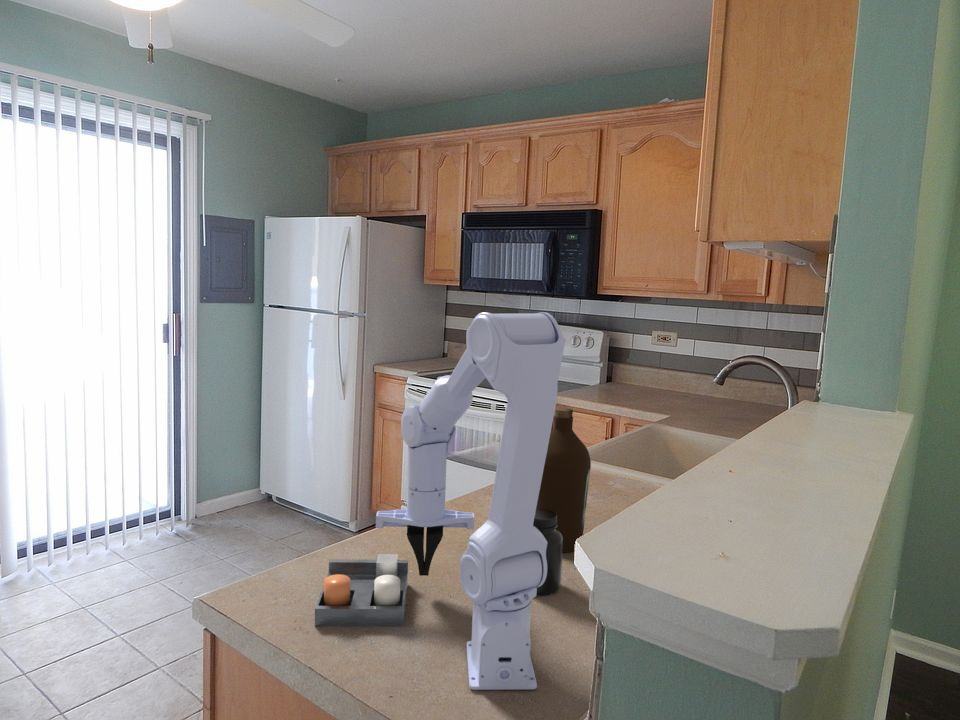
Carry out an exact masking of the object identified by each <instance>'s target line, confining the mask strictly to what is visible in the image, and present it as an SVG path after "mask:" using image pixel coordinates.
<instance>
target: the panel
mask: <svg viewBox="0 0 960 720" xmlns="http://www.w3.org/2000/svg"><path fill="white" fill-rule="evenodd" d="M376 562H377V559H353V558H352V559H351V558H350V559H349V558H348V559H342V558H341V559H338V558H337V559H335V558H332V559H329V560H328V572H327V575H326V577H325V578H327V577H328V576H331V575H337V574H341V575H346V576H348V577H349V578H350V601H349V603H348V604H346V605H344V606H327V605H325V604H324V584H323V586H322V589H321V591H320V594H319V596H318V599H317V601H316V605H315V608H314V627H404V625H405V624H404V623H405V614H406V613H405V612H406V604H407V594H408V593H407V592H408V586H407V585H409V583H408V582H409V560H408V559H398V574H397V577H399V578H400V602H399V603H398V604H397V605H395V606H377V605H376V604H375V603H374V581H375V579H376Z"/></svg>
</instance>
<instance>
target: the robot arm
mask: <svg viewBox="0 0 960 720" xmlns="http://www.w3.org/2000/svg"><path fill="white" fill-rule="evenodd" d="M465 338H466V343H465V344H466V349H465V350H464V352H463V354H462V356H461V357H460V359H459V361H458V363H457V365H456V366H455V368H454V369H453V371H452V373H451V374H449V375H443V376H438V377H437V378H436V380H435V381H434V382H435V383H434V384H433V386H432V387H431V388H430V389H429V391H428V393H427V394H426V395H425V396H424V398H423V399H422V400H421V402H420V403H419V405H411V406H409V405H407V407H405V408H404V410H403V412H402V415H401V421H400V430H401V435H402V438H403V441H404V443H405V444H406V445H407V469H406V470H407V472H406V474H407V476H406V478H407V480H406V508H402V509H393V510H392V509H391V510H378V511H376V515H375V528H376V529H383V528H384V527H387V528H389V527H390V528H391V527H393V528H395V527H396V528H406V537H407V540H408V542H409V544H410V545H411V546H410V547H411V549H412V551H413V553H414V556H415V559H416V563H417V567H418V574H419V575H418V576H419V577H420V576H425V577H426V576H429V575H430V567H431V564H432V561H433V557H434V555H435V553H436V551H437V549H438V547H439V545H440V542H441V541H442V539H443V536H444V528H458V529H459V528H466V530H474V532H473V533H472V534H471V535H470V536H469V537H468V542H467V547H466V549H465V552H464V553H463V554H462V556H461V558H460V562H459V568H458V572H459V574H458V575H459V580H460V581H459V582H460V584H461V587H462V589H463V592H464V593H465V595H466V596H467V597H468V598H469V600H471V602H472V620H471V621H472V622H471V625H472V626H471V640H467V641H466V656H467V657H466V658H467V659H466V660H467V672H468V683H469V685H468V686H469V688H470V690H476V691H477V690H478V691H479V690H480V691H481V690H483V691H484V690H492V691H493V690H502V691H503V690H504V691H505V690H506V691H507V690H508V691H509V690H510V691H511V690H536V689H538V684H537V683H538V682H537V680H536V675H535V671H534V666H533V662H532V661H533V660H532V657H531V649H532V648H531V647H532V646H531V645H532V643H531V642H532V641H531V634H530V633H531V632H530V631H531V616H532V615H531V614H532V613H531V612H532V599H533V598H536V597H537V596H536V594H537V587H540V586H541V585H542V584H543V583H544V582H545V579H546V576H547V560H546V548H547V541H546V539H545V537H544V536H543V534H542V533H541V532H540V531H539V530H538V529H537V528H536V527H534V526H533V522H534V517H535V512H536V506H537V501H538V496H539V491H540V485H541V480H542V475H543V470H544V464H545V459H546V454H547V449H548V443H549V438H550V433H551V431H552V429H553V423H554V416H555V408H557V407H556V405H557V402H558V401H557V400H558V389H559V387H558V381H559V376H560V371H561V365H562V361H563V355H564V351H565V350H564V349H565V345H566V338H565V336H564V334H563V332H562V330H561V328H560V326H559V324H558V321H557V320H556V319H555V317H554V316H553V315H552V314H550V313H549V312H546V311H545V312H543V311H539V312H536V313H492V312H487V311H485V312H480V313H478V314H477V315H475V317H474V318H473V320H472V322H471V323H470V326H469V327H468V328H467V329H466V336H465ZM484 380H487V381H488V383H489V384H490V386H491V387H492V389H493V390H494V391H496V392H498V393H501V394H503V395H504V396H505V398H506V402H507V403H506V411H505V416H504V421H503V422H504V423H503V427H502V433H501V435H502V436H501V441H500V447H499V451H498V459H497V463H496V464H497V465H496V469H495V476H494V482H493V487H492V494H491V500H490V506H489V513H488V518H487V520H486V521H485V522H484V523H483V524H482V525H481V526H480V527H479V528H478V529H476V530H475V513H474V512H468V511H458V510H453V509H447V508H446V490H447V489H446V488H447V487H446V486H447V485H446V484H447V460H448V459H447V456H449V455H450V454H451V452H452V451H451V450H452V448H451V446H452V442H453V441H454V439H455V435H456V432H457V428H456V423H458V421H459V420H460V419H461V418H462V416H463V415H464V414H465V413H466V412H467V410H468V409H469V408H470V407H471V406H472V403H473V401H474V400H473V399H474V398H473V397H474V395H473V391H475V389H477V387H478V386H479V385H480V384H481V383H482V382H483V381H484ZM425 528H426V529H425ZM425 530H426V531H425ZM425 532H426V534H425ZM424 542H425V543H424ZM424 544H425V545H424ZM424 546H425V547H424ZM424 548H425V550H424Z"/></svg>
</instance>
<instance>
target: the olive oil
mask: <svg viewBox="0 0 960 720" xmlns="http://www.w3.org/2000/svg"><path fill="white" fill-rule="evenodd" d="M573 413H574V409H573V408H570V407H565V406H564V407H563V406H562V407H561V406H560V407H559V406H558V407H555V412H554V417H553V427H552V429H551V433H550V438H549V443H548V449H547V454H546V459H545V464H544V470H543V475H542V480H541V485H540V491H539V496H538V501H537V506H536V509H547V510H551V511H553V512H555V513H556V515H557V528H556V529H557V530H559V531H560V533H561V535H562V538H563V545H562V553H571V552H575V551H574V544H575V541H576V539H577V538H579V537H580V536H582V535H583V536H584V532H585V531H584V530H585V522H586V521H585V520H586V519H585V518H586V511H587V501H588V494H589V483H590V477H591V468H592V467H591V466H592V465H591V464H592V461H591V455H590V453H589V450H588V448H587V447H586V445H585V443H584V442H582V440H581V438H579V436H578V435H577V434H576V432H575V431H574V430H573V424H574V423H573V422H574V416H573Z"/></svg>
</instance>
